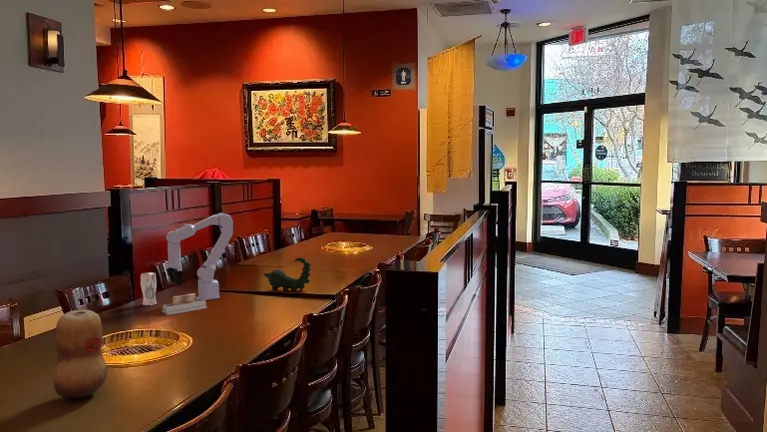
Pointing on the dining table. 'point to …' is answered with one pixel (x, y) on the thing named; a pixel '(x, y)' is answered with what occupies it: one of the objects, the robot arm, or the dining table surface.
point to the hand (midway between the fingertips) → (175, 283)
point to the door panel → (184, 299)
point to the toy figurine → (289, 278)
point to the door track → (184, 307)
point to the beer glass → (148, 288)
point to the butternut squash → (79, 354)
